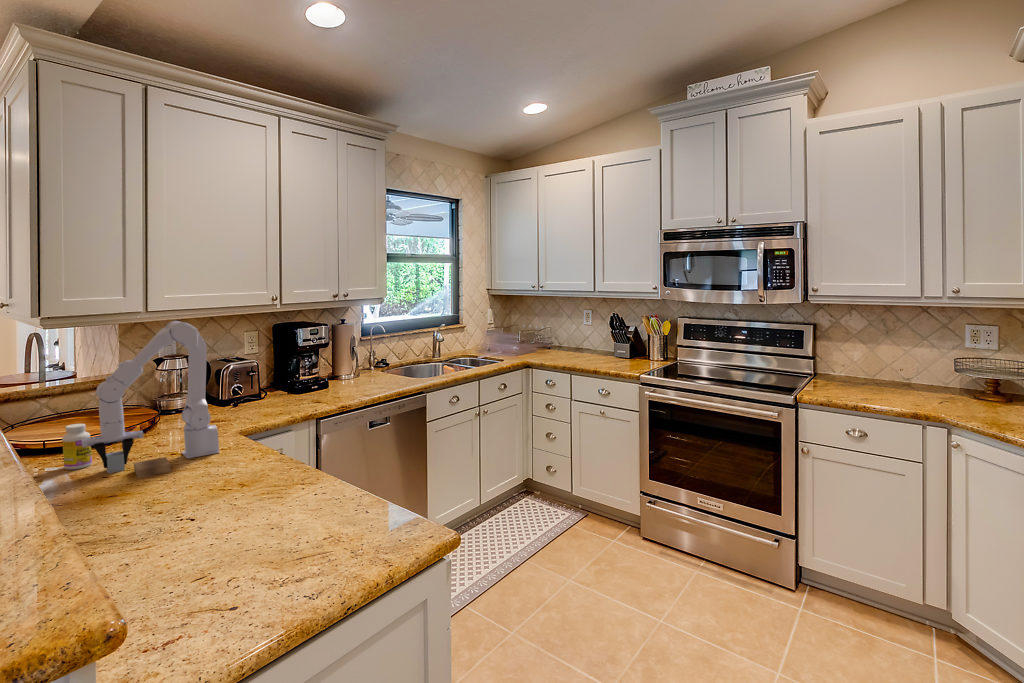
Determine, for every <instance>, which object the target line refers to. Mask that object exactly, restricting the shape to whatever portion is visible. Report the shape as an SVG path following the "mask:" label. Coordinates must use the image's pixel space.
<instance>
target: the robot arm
mask: <svg viewBox="0 0 1024 683" xmlns="http://www.w3.org/2000/svg"><path fill="white" fill-rule="evenodd" d="M176 342H177V343H179V344H180V345H181V346H183V347H184V349H186V350H188V362H187V363H188V366H187V367H188V368H187V395H186V396H187V398H186V400H185V403H184V407H183V410H182V412H181V419H182V421H183V422H185V424H184V426H183V439H184V450H183V451H181V453H182V455H183V456H184V457H185V458H186V459H193V458H197V457H202V456H203V457H204V456H208V455H214V454H219V453H220V446H219V445H220V444H219V431H218V427H217V425H216V424H211V425H210V423H211V419H212V418H211V417H212V416H211V414H210V412H209V406H208V402H207V400H206V388H207V387H206V385H207V384H206V383H207V357H208V356H207V354H208V350H207V349H208V346H207V343H206V341H205V340H204V339H203V337H202V335H201V334H200V332H199V330H198V329H197V328H196V327H195V326H193V325H192V324H190V323H188V322H184V321H179V320H172V321H170V322H168V323H167V324H166V325H165V327H161V329H160V330H158V332H156V334H155V335H154V336H153V337H152V338H151V339H150V340H149V341H148V343H146V344H145V345H144V347H143V348H142V349H141V350H140V351H139V352H138V354H136V356H135V357H134V358H132V359H127V360H125V361H123V362H119V363H118V364H117V368H116V369H115V370H114V372H112V373H111V374H110V375H109V376H105V378H104V379H105V381H101V383H99V384H98V385H97V387H96V390H95V394H96V396H97V398H99V399H98V405H99V407H98V413H99V414H98V416H99V426H100V427H99V430H100V435H99V436H98V435H97V436H93V437H91V438H88V439H82V447H87V446H91V447H92V446H93V447H94V450H95V451H96V452H97V454H98V455H99V457H100V458H101V460H102V464H103V468H104V469H107V460H106V452H107V450H106V444H109V443H115V442H116V443H117V442H121V446H122V447H121V448H122V452H123V454H124V465H127V464H128V459H129V458H128V457H129V454H130V452H131V449H132V448H133V445H134V442H135V441H134V440H135V439H144V432H143V430H137V431H125V428H126V427H125V415H124V405H123V401H122V400H123V399H122V398H123V397H124V395H125V390H127V389H128V388H129V387H131V385H133V383H135V381H136V380H137V379H138V378H139V377H140V376H141V375H142V374H143V373H144V366H145V365H146V364H147V363H148V362H149V361H150V360H151V359H153V357H154V356H155V355H156V354H158V352H160V351H161V350H162V349H163V348H164V347H168V346H173V345H175V344H176Z"/></svg>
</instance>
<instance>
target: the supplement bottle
mask: <svg viewBox="0 0 1024 683" xmlns="http://www.w3.org/2000/svg"><path fill="white" fill-rule="evenodd" d="M86 426H87V425H86V424H85V423H74V424H69V425H66V426H65V432H66V434H64V435H63V436H62V438H61V440H62V443H61V444H62V455H63V465H64V467H63V468H65V470H71V471H72V470H80V469H84V468H87V467H90V466H91V465H92V464H93V455H92V454H93V453H92V446H87V447H82V439H88V438H92V437H91V433H89V432H88V431H86V429H87V428H86Z"/></svg>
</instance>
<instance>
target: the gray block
mask: <svg viewBox="0 0 1024 683" xmlns="http://www.w3.org/2000/svg"><path fill="white" fill-rule="evenodd" d="M106 460H107V468H106V472H107V474H113V473H116V472H123V471H125V470H126V468H125V465H126V464H125V465H124V454H123V450H119V451H113V452H107V453H106Z"/></svg>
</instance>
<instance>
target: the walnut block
mask: <svg viewBox="0 0 1024 683" xmlns="http://www.w3.org/2000/svg"><path fill="white" fill-rule="evenodd" d="M133 467H134V473H135V475H136V477H137V479H139V480H141V479H146V478H150V477H155V476H160V475H165V474H169V473H172V464H171V461H169V460H168V459H167V457H166V456H165V457H159V458H154V459H149V460H142V461H136V462H134V463H133Z"/></svg>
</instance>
